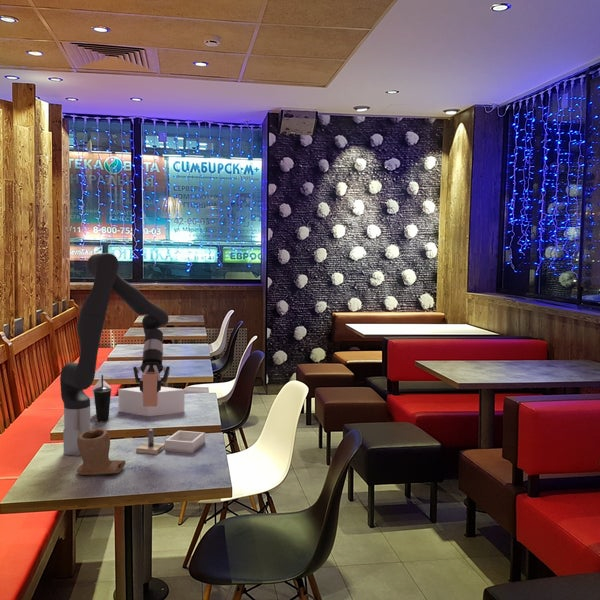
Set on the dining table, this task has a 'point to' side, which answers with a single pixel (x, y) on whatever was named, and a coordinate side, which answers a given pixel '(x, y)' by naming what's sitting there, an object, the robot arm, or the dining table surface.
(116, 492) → the dining table surface
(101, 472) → the brown hollow piece
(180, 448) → the tray
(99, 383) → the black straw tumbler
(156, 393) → the sleeve
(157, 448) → the stake board
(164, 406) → the block
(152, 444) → the stake
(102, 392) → the drinking cup
